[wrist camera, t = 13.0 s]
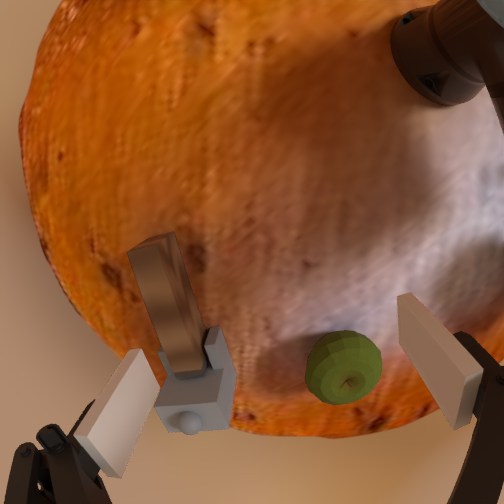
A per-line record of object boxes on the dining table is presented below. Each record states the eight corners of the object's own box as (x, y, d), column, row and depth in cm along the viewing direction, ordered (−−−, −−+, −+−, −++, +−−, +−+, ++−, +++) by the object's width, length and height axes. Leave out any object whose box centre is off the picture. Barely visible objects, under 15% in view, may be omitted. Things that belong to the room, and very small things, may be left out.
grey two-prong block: (167, 334, 45) (134, 395, 31) (220, 325, 44) (202, 390, 30) (186, 380, 47) (164, 444, 34) (236, 374, 46) (226, 442, 33)
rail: (147, 238, 41) (126, 252, 35) (174, 231, 41) (156, 244, 34) (187, 350, 46) (176, 378, 39) (211, 347, 45) (203, 375, 39)
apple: (343, 300, 42) (361, 336, 33) (382, 343, 44) (404, 382, 34) (286, 347, 45) (289, 390, 35) (328, 384, 46) (339, 427, 37)
